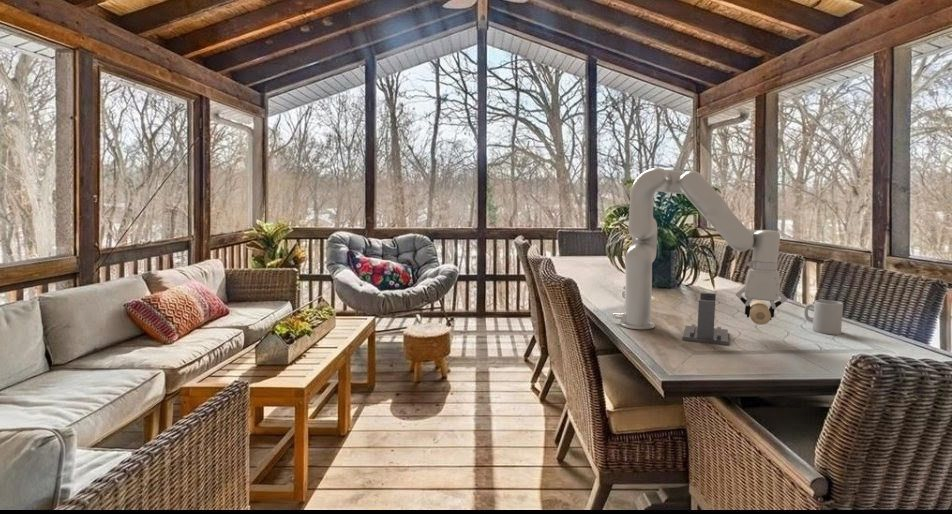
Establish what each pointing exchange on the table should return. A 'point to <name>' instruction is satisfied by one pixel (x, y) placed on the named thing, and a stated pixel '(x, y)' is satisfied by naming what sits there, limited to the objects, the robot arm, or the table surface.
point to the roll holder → (706, 323)
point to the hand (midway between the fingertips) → (758, 317)
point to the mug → (826, 316)
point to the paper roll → (759, 312)
